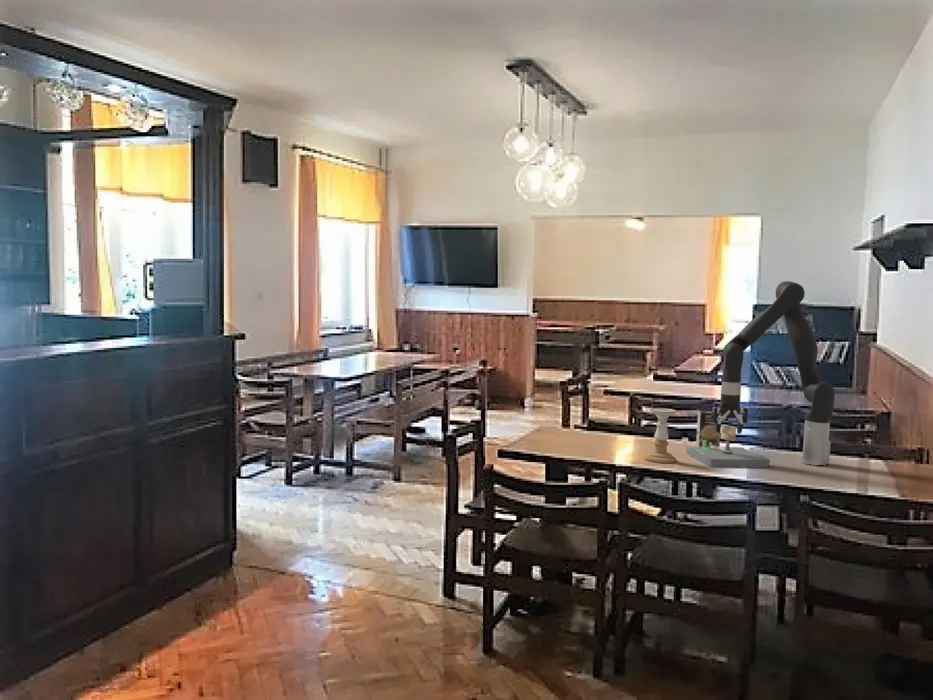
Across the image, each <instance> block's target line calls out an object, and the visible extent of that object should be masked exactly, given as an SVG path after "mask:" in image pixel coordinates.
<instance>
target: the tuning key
mask: <svg viewBox="0 0 933 700" xmlns="http://www.w3.org/2000/svg"><path fill="white" fill-rule="evenodd" d="M736 435H737V426H734V425H728V424H721V434H720V440H724V441H725V447H726V449H725V448H721V447H722V446H720V447H717V446H714V445H712V442H709V447H710V448H714V449H718V450H721V451H722V452H724V453H732V452H733V450H729V447H730V446H731V445H730V444H731V443H730V442H735V441H736V438H737V436H736Z"/></svg>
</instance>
